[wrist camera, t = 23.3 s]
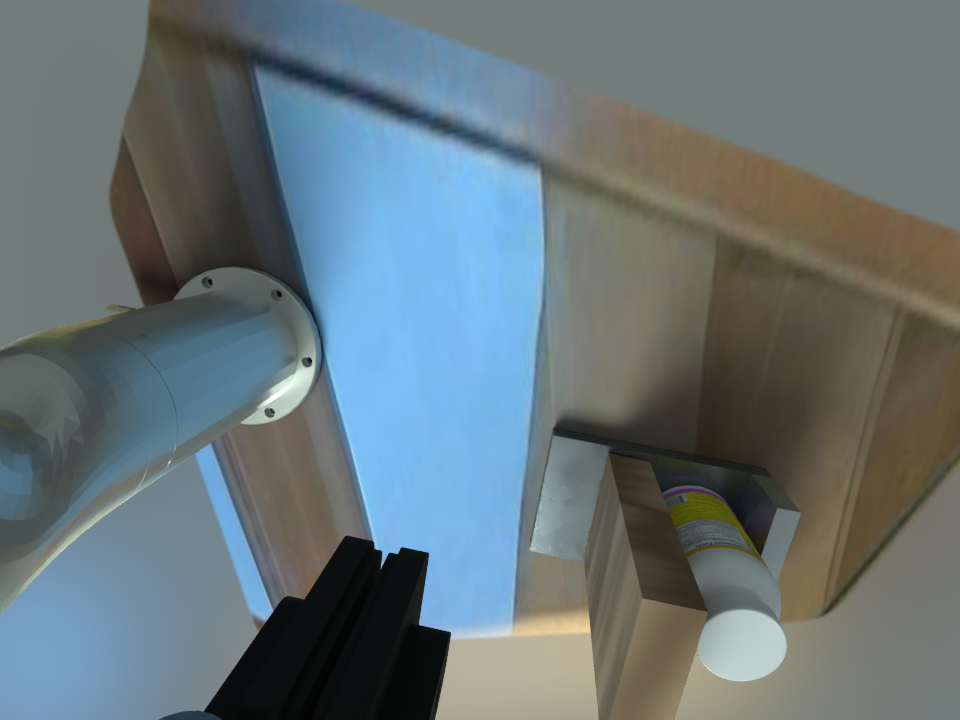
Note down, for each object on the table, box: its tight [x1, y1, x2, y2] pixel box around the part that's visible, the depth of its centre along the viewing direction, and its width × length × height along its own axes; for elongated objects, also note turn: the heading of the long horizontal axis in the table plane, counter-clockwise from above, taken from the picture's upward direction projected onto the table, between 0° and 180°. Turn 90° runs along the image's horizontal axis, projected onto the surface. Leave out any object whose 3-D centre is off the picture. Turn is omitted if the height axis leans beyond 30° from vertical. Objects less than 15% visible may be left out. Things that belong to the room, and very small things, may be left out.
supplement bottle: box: [662, 485, 787, 681], centre depth 36 cm, size 7×7×13 cm
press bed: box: [530, 428, 801, 583], centre depth 41 cm, size 16×10×6 cm, turn 81°
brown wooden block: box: [584, 454, 708, 720], centre depth 35 cm, size 3×9×16 cm, turn 171°
